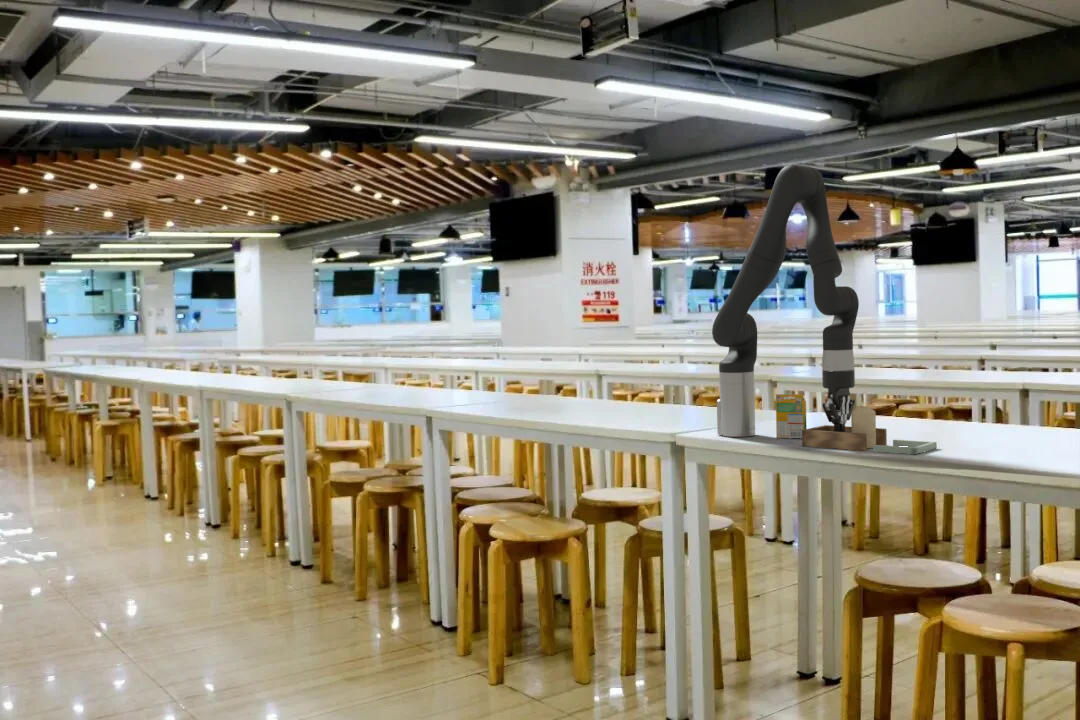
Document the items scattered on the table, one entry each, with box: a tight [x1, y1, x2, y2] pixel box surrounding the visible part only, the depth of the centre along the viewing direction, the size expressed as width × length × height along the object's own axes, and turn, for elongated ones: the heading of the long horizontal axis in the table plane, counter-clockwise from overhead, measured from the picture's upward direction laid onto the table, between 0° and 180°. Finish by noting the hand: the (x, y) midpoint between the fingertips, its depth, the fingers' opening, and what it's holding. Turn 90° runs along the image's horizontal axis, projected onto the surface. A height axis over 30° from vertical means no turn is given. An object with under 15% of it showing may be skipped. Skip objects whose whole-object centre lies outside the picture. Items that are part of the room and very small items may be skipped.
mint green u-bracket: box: [872, 439, 938, 455], centre depth 224 cm, size 10×12×2 cm
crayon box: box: [775, 393, 808, 440], centre depth 252 cm, size 7×3×12 cm, turn 62°
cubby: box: [801, 424, 888, 452], centre depth 235 cm, size 16×12×4 cm
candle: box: [850, 405, 877, 449], centre depth 231 cm, size 6×6×10 cm
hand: (839, 439), depth 235 cm, fingers closed
